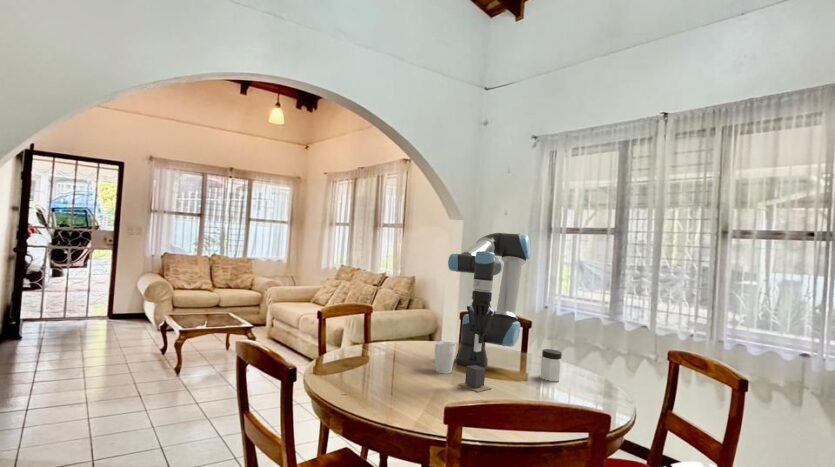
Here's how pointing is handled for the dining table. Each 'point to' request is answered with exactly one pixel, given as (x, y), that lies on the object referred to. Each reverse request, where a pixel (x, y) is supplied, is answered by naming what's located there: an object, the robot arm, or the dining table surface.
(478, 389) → the teal post on base
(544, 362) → the jar
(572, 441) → the dining table surface
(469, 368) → the charcoal cuboid
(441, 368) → the cup
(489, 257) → the robot arm
